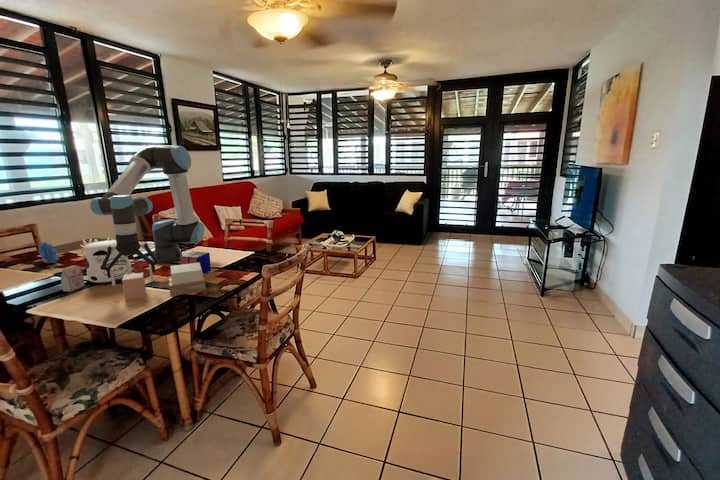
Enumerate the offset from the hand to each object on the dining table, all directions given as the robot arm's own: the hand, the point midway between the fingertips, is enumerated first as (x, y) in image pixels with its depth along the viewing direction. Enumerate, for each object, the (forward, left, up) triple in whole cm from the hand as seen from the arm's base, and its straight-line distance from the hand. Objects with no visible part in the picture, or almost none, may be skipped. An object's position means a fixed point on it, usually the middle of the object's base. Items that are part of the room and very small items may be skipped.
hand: (133, 282), depth 142 cm
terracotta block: (0, 0, -6) cm, 6 cm away
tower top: (-1, +20, -2) cm, 20 cm away
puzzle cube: (-21, +25, -7) cm, 34 cm away
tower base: (0, +20, -7) cm, 21 cm away
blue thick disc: (-74, -46, -7) cm, 88 cm away
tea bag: (-22, -25, -7) cm, 34 cm away
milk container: (-28, -12, -7) cm, 31 cm away
